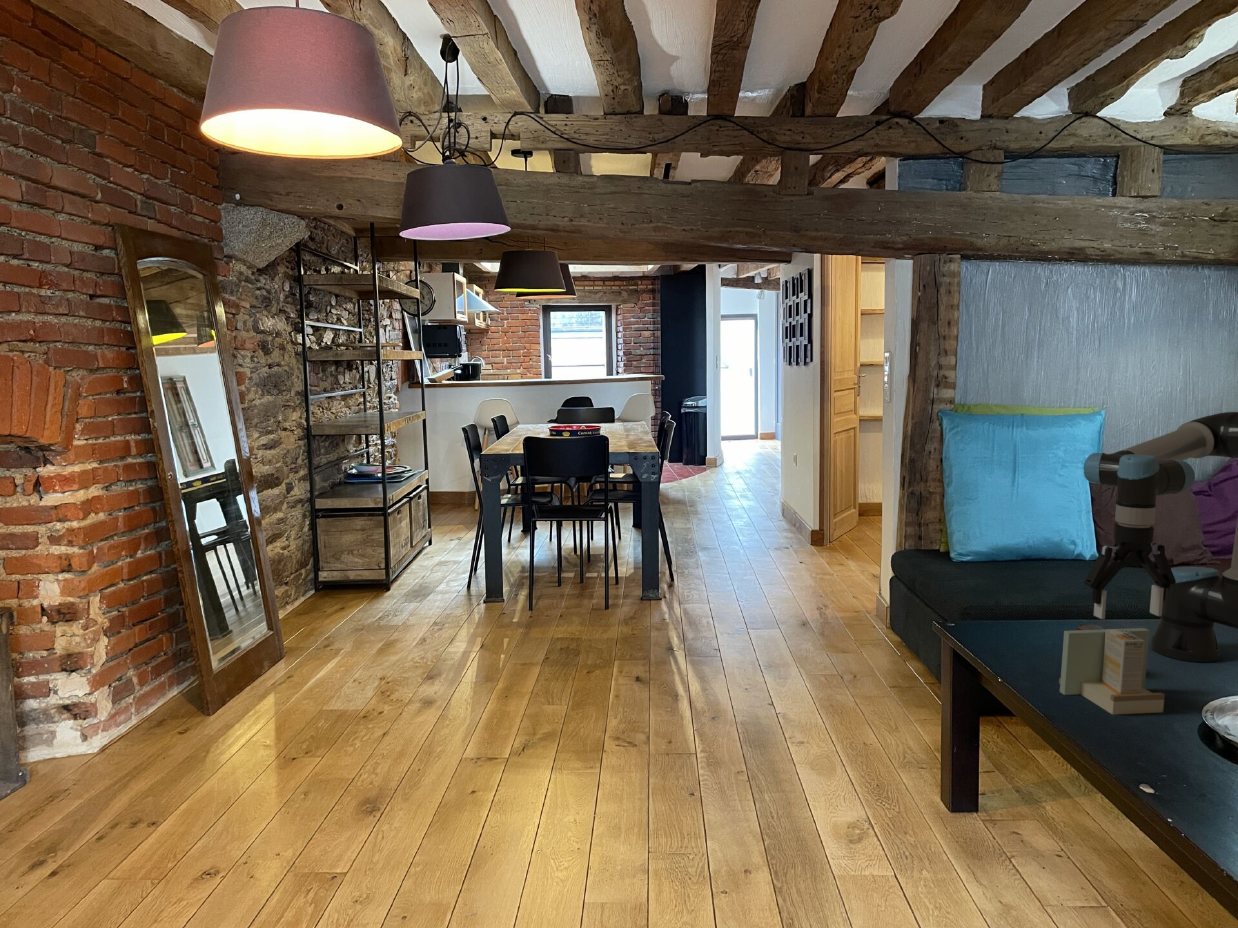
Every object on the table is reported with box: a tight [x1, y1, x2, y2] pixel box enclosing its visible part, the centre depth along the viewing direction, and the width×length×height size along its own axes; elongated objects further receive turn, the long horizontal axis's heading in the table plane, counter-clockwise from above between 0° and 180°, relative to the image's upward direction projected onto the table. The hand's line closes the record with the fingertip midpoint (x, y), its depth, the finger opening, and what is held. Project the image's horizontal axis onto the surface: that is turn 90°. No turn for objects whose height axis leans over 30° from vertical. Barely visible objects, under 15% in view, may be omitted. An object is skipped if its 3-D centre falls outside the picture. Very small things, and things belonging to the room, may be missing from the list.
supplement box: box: [1102, 628, 1145, 694], centre depth 189 cm, size 8×5×13 cm, turn 177°
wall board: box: [1058, 627, 1166, 716], centre depth 192 cm, size 20×18×15 cm
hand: (1127, 615), depth 187 cm, fingers open, 13 cm apart
